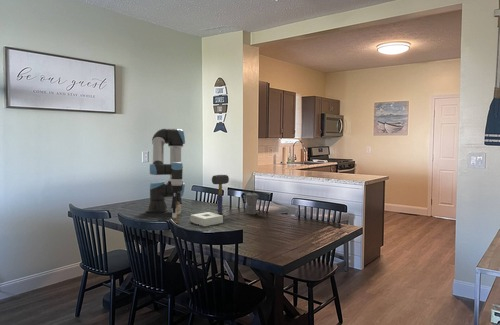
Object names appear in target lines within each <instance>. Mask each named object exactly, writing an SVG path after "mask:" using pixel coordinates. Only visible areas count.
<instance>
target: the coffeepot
mask: <svg viewBox="0 0 500 325" xmlns="http://www.w3.org/2000/svg"><path fill="white" fill-rule="evenodd" d="M240 196H241V200H242V203H243V204H246V209H245V214H246V215H256V214H257V206H256V203H257V200H258V198H259V197H260V195H259V194H258V193H255V192H253V190H250V192H248V193H247V192H242V193H241V195H240ZM244 196H245V198H244ZM245 199H246V200H245ZM245 201H246V202H245Z"/></svg>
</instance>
